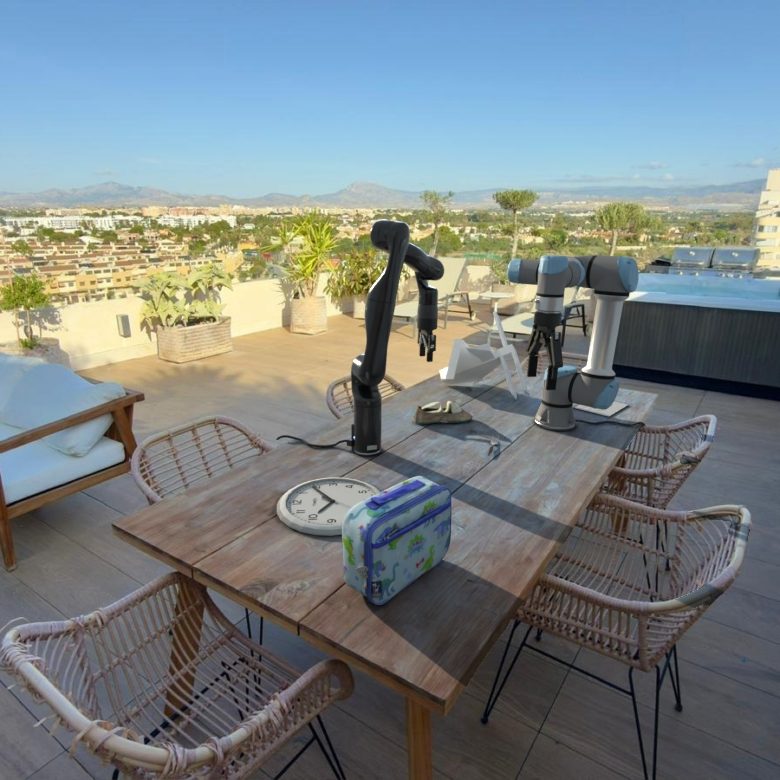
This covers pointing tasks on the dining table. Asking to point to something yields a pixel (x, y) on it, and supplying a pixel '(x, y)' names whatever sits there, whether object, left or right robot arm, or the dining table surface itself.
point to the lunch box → (395, 537)
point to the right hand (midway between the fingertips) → (540, 382)
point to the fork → (493, 444)
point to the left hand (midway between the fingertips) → (425, 358)
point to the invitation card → (607, 412)
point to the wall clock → (322, 504)
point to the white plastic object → (482, 362)
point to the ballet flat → (440, 413)
